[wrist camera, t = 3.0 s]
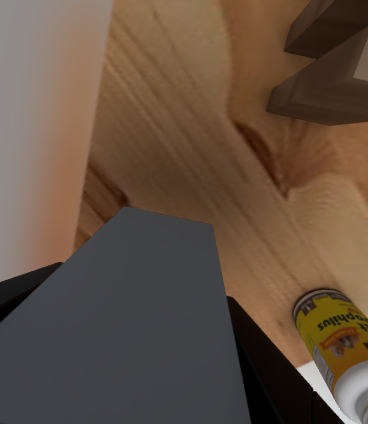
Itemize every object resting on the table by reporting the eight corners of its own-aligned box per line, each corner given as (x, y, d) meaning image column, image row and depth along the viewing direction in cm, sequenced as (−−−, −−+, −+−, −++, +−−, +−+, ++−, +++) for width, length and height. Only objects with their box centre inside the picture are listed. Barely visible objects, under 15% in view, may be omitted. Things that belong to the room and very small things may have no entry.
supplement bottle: (350, 282, 21) (481, 402, 12) (348, 330, 23) (462, 470, 13) (289, 290, 22) (364, 410, 12) (291, 336, 24) (360, 475, 14)
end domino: (205, 249, 13) (231, 529, 4) (120, 232, 13) (-71, 472, 4) (212, 224, 13) (260, 470, 3) (124, 206, 13) (-88, 405, 3)
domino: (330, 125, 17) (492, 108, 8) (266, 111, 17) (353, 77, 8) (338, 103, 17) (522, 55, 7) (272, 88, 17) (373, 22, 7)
